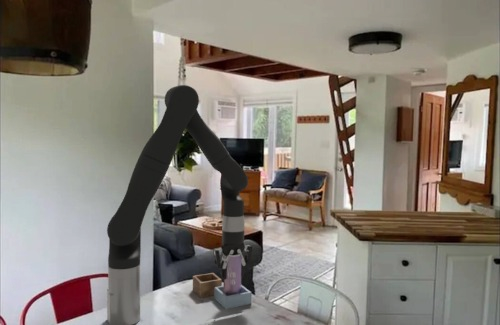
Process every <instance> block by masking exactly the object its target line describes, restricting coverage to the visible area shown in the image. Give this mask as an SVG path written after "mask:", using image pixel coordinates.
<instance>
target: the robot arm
mask: <svg viewBox="0 0 500 325" xmlns="http://www.w3.org/2000/svg"><path fill="white" fill-rule="evenodd" d="M199 102H200V97H199V94H198V92H197V90H196V89H195V88H194V87H193V86H191V85H187V84H181V85H176V86H173V87H171V88H169V89H168V90H167V91H166V93H165V96H164V105H165V107H166V108H165V111H164V114H163V116H162V119H161V121H160V123H159V125H158V127H157V128H156V129H155V131H154V132H153V133H152V135H151V136H150V137H149V139H148V141H147V142H146V143H145V145H144V147H143V148H142V150H141V153H140V155H139V157H138V159H137V161H136V164H135V166H134V169H133V171H132V174H131V175H130V176H131V177H130V180H129V183H128V186H127V190H126V192H125V195H124V198H123V199H122V202H121V203H120V205H119V206H118V208H117V210H116V211H115V213H114V215H113V216H112V217H110V218H111V219H110V220H109V222H108V224H107V228H106V232H107V233H106V234H107V237H108V238H109V240H108V241H109V244H108V245H109V247H108V257H107V258H108V259H107V262H108V264H107V266H108V267H107V268H108V270H107V274H108V277H107V278H108V279H107V280H108V284H107V287H108V288H107V289H106V299H107V300H106V306H107V307H106V320H107V323H108V325H135V324H137V323H138V322H140V320H141V250H142V248H141V240H142V239H141V238H142V235H141V233H142V232H141V231H142V225H143V221H144V218H145V215H146V213H147V210H148V208H149V206H150V204H151V201H152V200H153V198H154V197H155V195H156V193H157V191H158V190H159V187H160V186H161V184H162V183H163V180H164V178H165V177H166V175H167V172H168V170H169V168H170V167H171V164H172V161H173V158H174V156H175V154H176V151H177V149H178V146H179V143H180V141H181V139H182V136H183V134H184V132H185V130H186V131H187V132H188V133H189V135H190V136H191V137H192V138H193V141H195V143H196V144H197V146H198V148H199V149H200V152H202V154H203V155H204V157H205V159H206V160H207V161H208V163H209V164H210V166H211V167H212V168H213V169H214V170H216V171H217V172H218V173H220V174H221V177H220V181H219V183H220V184H219V188H220V192H221V197H222V201H223V207H222V209H223V210H222V224H221V229H222V230H221V233H222V234H221V243H222V244H221V247H220V248H213V249H212V252H213V260H214V266H216V268H219V271H220V272H219V277H220V279H222V281H224V280H225V279H226V266H227V263H228V258H229V255H236V254H241V257H242V258H241V278H243V277H244V275H245V274H246V269H245V268H246V267H245V266H246V265H247V264H248V265H249V264H250V263H251V258H252V252H253V246H251V245H249V244H246V245H245V202H244V200H243V198H242V197H241V196H240V192H242V191H244V190H246V189H247V187H248V183H249V179H248V176H247V173H246V171H245V170H244V169H243V167H241V165H239V163H238V162H237V161H236V160H235V159H234V158H233V157H232V156H231V155H230V152H229V151H228V150H227V148H226V146H225V145H224V143H223V142H222V141H221V140H220V137H218V135H216V133H215V132H214V131H213V130H212V129H211V128H210V126H209V125H208V124H206V122H205V120H204V119H203V118H202V116H201V115H200V113H199V111H198V108H199V107H198V106H199V104H200V103H199ZM243 252H244V256H243ZM222 253H223V254H222ZM221 255H222V257H221ZM224 255H225V256H227V258H226V259H224Z"/></svg>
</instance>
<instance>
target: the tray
mask: <svg viewBox="0 0 500 325" xmlns="http://www.w3.org/2000/svg"><path fill="white" fill-rule="evenodd" d="M223 287H224V285H222V286H219V287H214V296H213V298H214V300H215V301H217V302H218V303H219V304H220V305H221V307H223V308H224V309H225V310H226V309H227V310H228V309H232V308H236V307H241V306H246V305H251V304H252V295H253V294H252V291H251V290H249V289H247V287H245V286H244V285H243V284H241V293H240V294H235V295H230V296H226V295H225V294H224V293H223Z"/></svg>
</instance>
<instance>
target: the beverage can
mask: <svg viewBox="0 0 500 325" xmlns="http://www.w3.org/2000/svg"><path fill="white" fill-rule="evenodd" d="M226 258H227V256H225V255H224V259H226ZM241 258H242V257H241V254H236V255H229V258H228V263H227V266H226V279H225V280H223V286H224V287H223V293H224V294H225V295H226V296H230V295H235V294H240V293H241V285H242V277H241Z"/></svg>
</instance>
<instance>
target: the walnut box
mask: <svg viewBox="0 0 500 325" xmlns="http://www.w3.org/2000/svg"><path fill="white" fill-rule="evenodd" d="M222 282H223V279H222V278H221V277H220V276H218V275H217V274H215V273H214V272H210V273H205V274H204V273H203V274H196V275H193V276H192V291H193V292H194V293H195V294H196V296H198V297H199V299H202V298H208V297H214V287H219V286H223V283H222Z"/></svg>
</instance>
